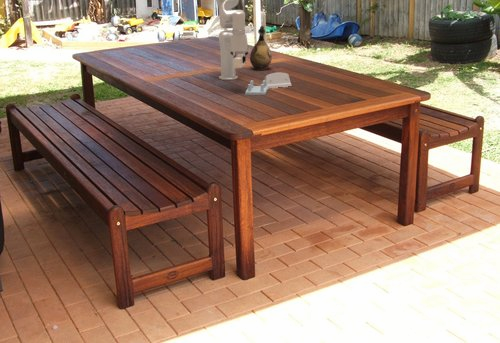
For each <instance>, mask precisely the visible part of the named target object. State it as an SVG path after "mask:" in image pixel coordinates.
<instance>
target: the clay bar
mask: <svg viewBox="0 0 500 343" xmlns="http://www.w3.org/2000/svg"><path fill="white" fill-rule="evenodd" d="M245 64H246V62H245V63H243V53H240V54H239V53H238V54H237V55H236V57H235V58H234V68H235V69H242V68H243V66H244V65H245Z"/></svg>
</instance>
